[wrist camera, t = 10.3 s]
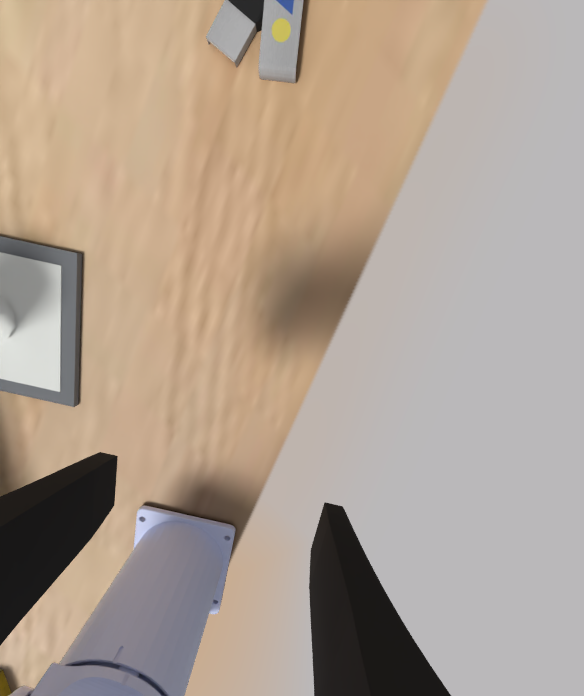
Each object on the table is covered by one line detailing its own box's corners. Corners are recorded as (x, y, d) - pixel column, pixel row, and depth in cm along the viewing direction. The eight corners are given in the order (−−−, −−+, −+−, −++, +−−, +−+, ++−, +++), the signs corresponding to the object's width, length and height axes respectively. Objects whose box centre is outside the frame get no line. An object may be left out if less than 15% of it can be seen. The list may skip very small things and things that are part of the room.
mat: (78, 404, 20) (73, 407, 20) (-64, 372, 21) (-72, 375, 20) (82, 253, 18) (76, 253, 17) (-80, 218, 18) (-90, 216, 17)
